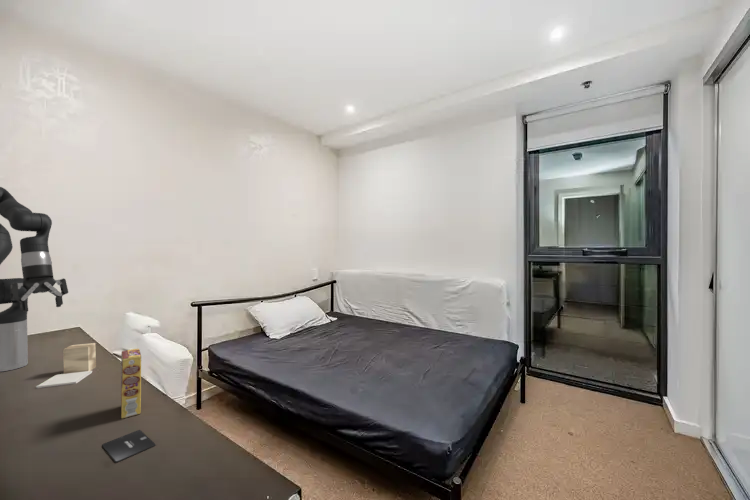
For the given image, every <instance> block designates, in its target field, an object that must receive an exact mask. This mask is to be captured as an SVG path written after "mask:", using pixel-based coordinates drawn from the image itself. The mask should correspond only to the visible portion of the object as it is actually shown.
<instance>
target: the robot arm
mask: <svg viewBox="0 0 750 500" xmlns="http://www.w3.org/2000/svg"><path fill="white" fill-rule="evenodd" d="M0 216H1V217H3V218H4V219H5V220H7V221H8V223H9V226H10V228H12V229H13V230H15V231H18V232H34V233H35V235H34V236H27V237H23V238H21V239H20V240H19V248H20V254H21V256H20V257H21V258H20V264H21V271H22V277H15V278H14V277H12V278H11V277H10V278H0V305H4V304H11V306H9V307H7V308H6V309H4V310H2V311H0V372H7V371H12V370H17V369H19V368H23V367H26V366H27V365H28V359H29V355H28V354H29V353H28V352H29V351H28V350H29V349H28V348H29V347H28V342H29V341H28V312H29V305H28V303H29V301H28V300H29V297H30V296H31V295H32V294H39V293H40V294H43V293H50V294H52V296H55V297H54V299H55V305H56V306H55V307H56V308H60V307H62V305H63V304H64V303H63V296H64V295H67V294H68V293H69V289H68V284H67V281H66V278H63V277H62V278H61V279H55V278H54V273H53V262H52V258H51V254H50V249H49V236H50V232H51V230H52V229H51V228H52V225H53V220H52V219H51V217H50V216H49V215H48V214H46V213H41V212H33V211H32V210H31V209H30V208H28V207H27V206H25V205H24V204H21V203H20V202H18V201H17V200H16V199H15V197H14V196H13V195H12V194H11V193H10V192H9V191H8V190H7V189H6V188H4V187H2V186H0ZM12 250H13V242H12V238H11V235H10V232H9V230H8V229H7V228H6V227H5V226H4V225H2V223H0V265H2V263H3V262H4V261H5V260H6V259H7V257H8V256H10V254H11V252H13V251H12ZM55 284H57V286H59V288H60V291H59V290H58V289H57V288H56V287H55Z"/></svg>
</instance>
